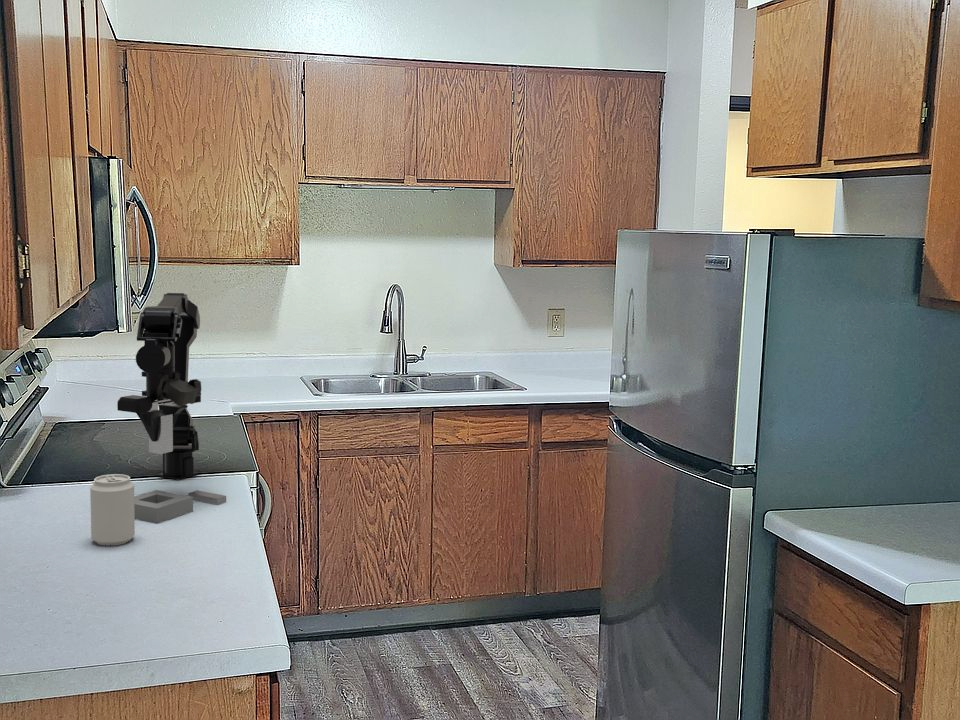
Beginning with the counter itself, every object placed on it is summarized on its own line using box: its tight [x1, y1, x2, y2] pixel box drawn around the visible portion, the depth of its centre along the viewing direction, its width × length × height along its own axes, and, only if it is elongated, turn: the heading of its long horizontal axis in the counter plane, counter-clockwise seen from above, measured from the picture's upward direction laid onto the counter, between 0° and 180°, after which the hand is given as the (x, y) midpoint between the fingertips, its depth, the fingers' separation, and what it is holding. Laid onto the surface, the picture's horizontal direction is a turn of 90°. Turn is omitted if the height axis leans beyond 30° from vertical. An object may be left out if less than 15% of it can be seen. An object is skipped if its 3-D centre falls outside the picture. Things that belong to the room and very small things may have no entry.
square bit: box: [148, 413, 173, 455], centre depth 204 cm, size 3×3×8 cm
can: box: [89, 473, 136, 547], centre depth 177 cm, size 8×8×12 cm
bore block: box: [134, 489, 194, 524], centre depth 195 cm, size 10×10×3 cm
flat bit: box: [187, 489, 227, 506], centre depth 205 cm, size 8×3×2 cm, turn 64°
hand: (160, 440), depth 204 cm, fingers closed on square bit, 3 cm apart
